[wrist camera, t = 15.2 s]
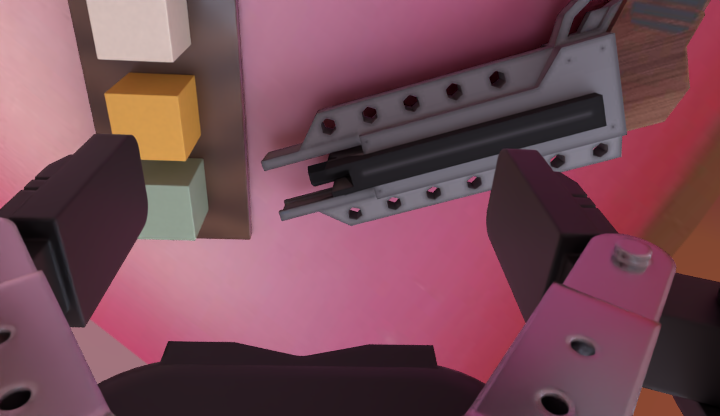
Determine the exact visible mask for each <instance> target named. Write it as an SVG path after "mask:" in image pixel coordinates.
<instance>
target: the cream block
mask: <svg viewBox="0 0 720 416" xmlns="http://www.w3.org/2000/svg"><path fill="white" fill-rule="evenodd" d="M86 2H87V7H88V13H89V18H90V23H91V28H92V33H93V38H94V43H95V48H96V54H97V58H98V59H103V60H127V61H150V62H174V61H175V60H176V59H177V58H178V57H179V56H180V55H181V54H182V53H183V52H184V51H185V50H186V49H187V48H188V47H189V46H190V45H191V38H190V29H189V19H188V10H187V1H186V0H86Z"/></svg>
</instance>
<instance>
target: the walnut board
mask: <svg viewBox="0 0 720 416" xmlns="http://www.w3.org/2000/svg"><path fill="white" fill-rule="evenodd" d="M186 1H187V10H188V19H189V29H190V38H191V45H190V46H189V47H188V48H187V49H186V50H185V51H184V52H183V53H182V54H181V55H180V56H179V57H178V58H177V59H176V60H175V61H174V62H150V61H127V60H103V59H98V58H97V54H96V48H95V43H94V38H93V33H92V28H91V23H90V18H89V13H88V7H87V2H86V0H68V3H69V8H70V13H71V18H72V22H73V27H74V32H75V36H76V41H77V46H78V51H79V55H80V60H81V65H82V69H83V74H84V79H85V84H86V88H87V93H88V98H89V103H90V107H91V112H92V117H93V121H94V126H95V131H96V134H112V130H111V125H110V120H109V115H108V110H107V105H106V100H105V95H104V94H105V92H107V91H108V90H109V89H110V88H111V87H113V86H114V85H115V84H116V83H117V82H119V81H120V80H121V79H122V78H123V77H124V76H126V75H127V74H128V73H150V74H175V75H194V76H195V83H196V93H197V102H198V111H199V121H200V130H201V136H200V138H199V139H198V141H197V143H196V145H195V146H194V148H193V150H192V151H191V153H190V155H189V157H188V158H201V159H203V161H204V170H205V180H206V189H207V199H208V208H209V209H208V212H207V214H206V217H205V219H204V221H203V224H202V226H201V228H200V231H199V233H198V236H197V238H206V239H245V240H250V239H251V235H252V227H251V210H250V193H249V177H248V160H247V143H246V127H245V110H244V94H243V77H242V60H241V44H240V27H239V10H238V0H186Z"/></svg>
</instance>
